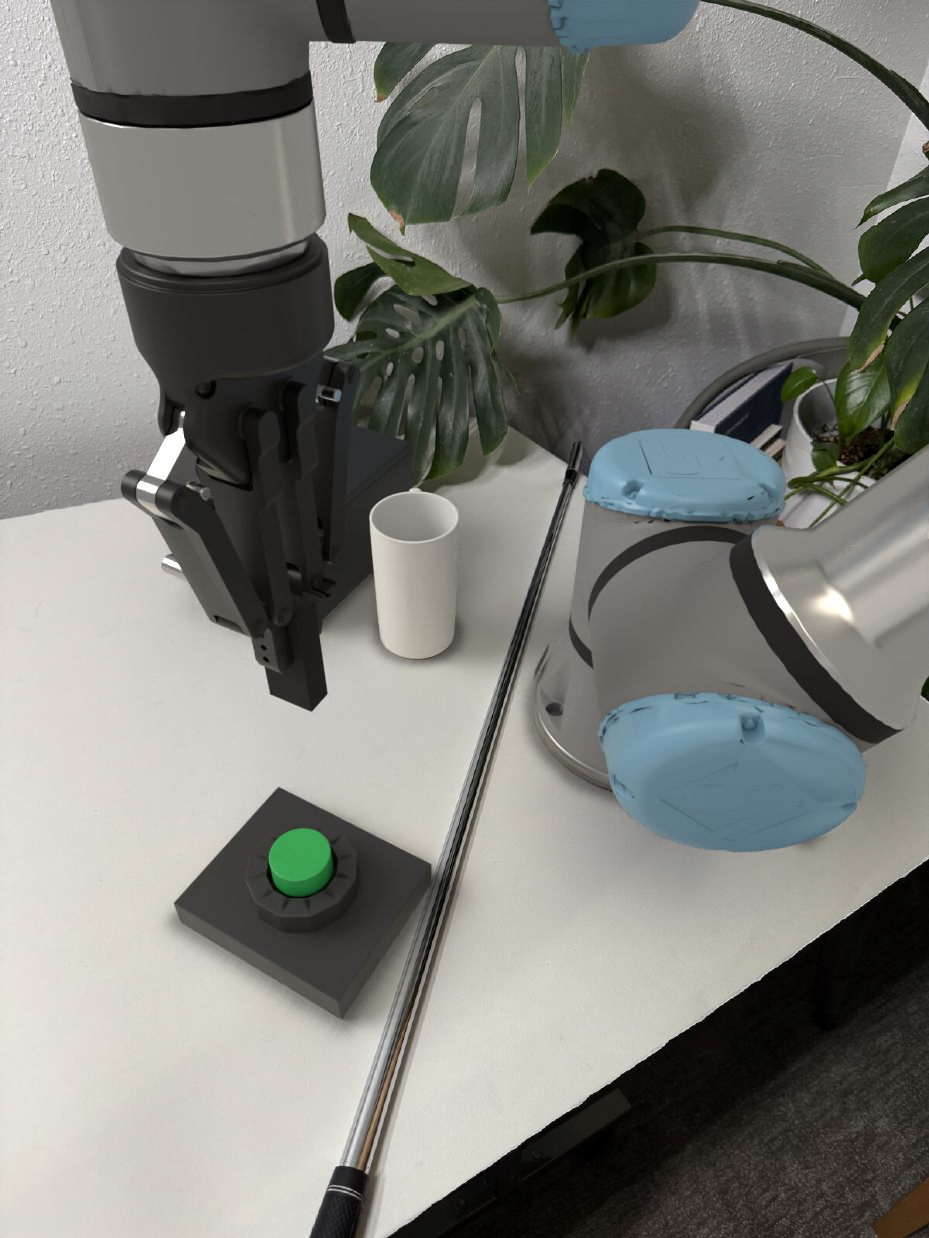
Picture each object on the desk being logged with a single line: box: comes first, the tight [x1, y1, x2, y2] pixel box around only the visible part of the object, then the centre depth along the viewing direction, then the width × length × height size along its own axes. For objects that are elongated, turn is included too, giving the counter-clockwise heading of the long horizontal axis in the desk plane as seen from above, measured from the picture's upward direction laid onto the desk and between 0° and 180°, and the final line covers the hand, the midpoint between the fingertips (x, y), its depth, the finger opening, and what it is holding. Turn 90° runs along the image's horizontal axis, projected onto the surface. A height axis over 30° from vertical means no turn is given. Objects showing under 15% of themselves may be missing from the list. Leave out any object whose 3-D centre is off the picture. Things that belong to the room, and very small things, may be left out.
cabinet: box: [196, 423, 414, 620], centre depth 79 cm, size 16×14×10 cm
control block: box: [173, 786, 433, 1020], centre depth 54 cm, size 12×10×4 cm
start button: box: [269, 828, 333, 897], centre depth 52 cm, size 4×4×2 cm
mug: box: [370, 487, 460, 660], centre depth 71 cm, size 10×7×12 cm, turn 2°
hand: (298, 693), depth 47 cm, fingers closed
